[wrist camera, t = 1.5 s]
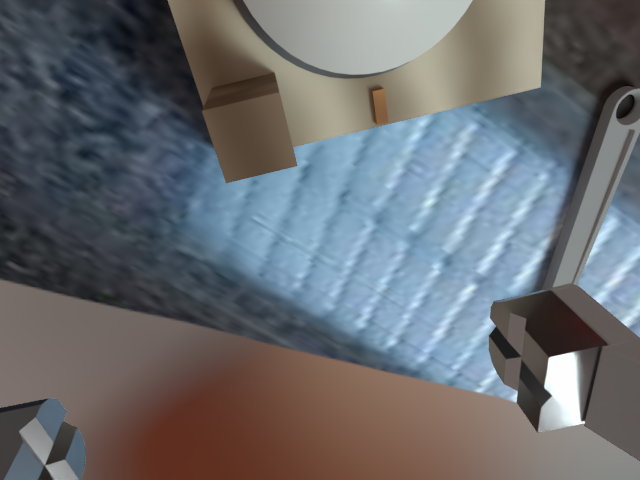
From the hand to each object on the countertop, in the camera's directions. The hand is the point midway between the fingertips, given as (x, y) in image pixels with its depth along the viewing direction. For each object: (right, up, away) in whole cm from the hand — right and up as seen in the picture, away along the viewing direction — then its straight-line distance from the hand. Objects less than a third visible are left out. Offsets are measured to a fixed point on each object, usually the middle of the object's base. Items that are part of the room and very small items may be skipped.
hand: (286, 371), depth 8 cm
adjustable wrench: (+21, +2, +28) cm, 36 cm away
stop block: (-3, +10, +17) cm, 20 cm away
